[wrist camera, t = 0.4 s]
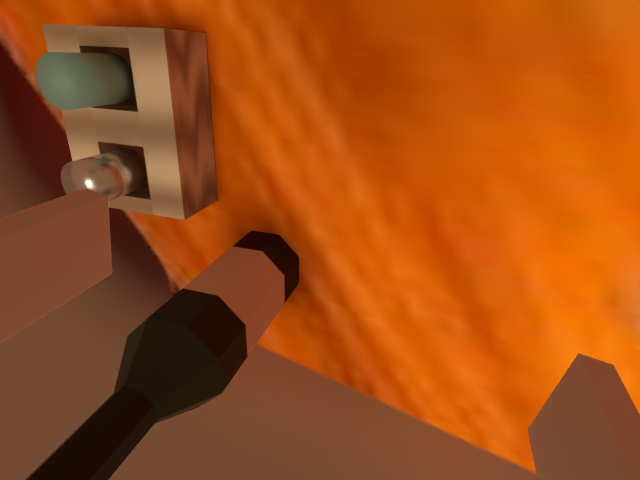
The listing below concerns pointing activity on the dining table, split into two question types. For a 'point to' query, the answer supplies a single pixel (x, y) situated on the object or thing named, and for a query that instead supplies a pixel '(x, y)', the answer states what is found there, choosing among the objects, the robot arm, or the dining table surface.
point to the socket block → (150, 114)
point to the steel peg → (106, 173)
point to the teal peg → (84, 79)
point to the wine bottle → (182, 354)
